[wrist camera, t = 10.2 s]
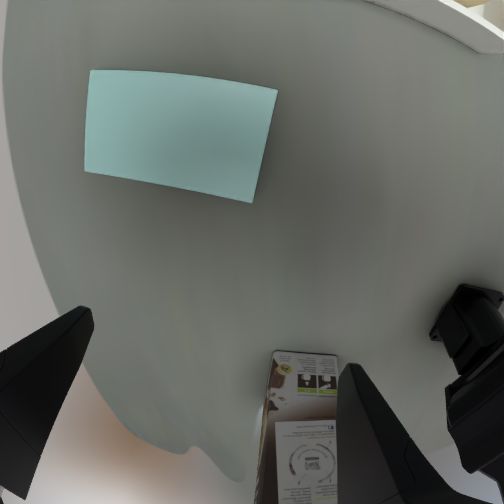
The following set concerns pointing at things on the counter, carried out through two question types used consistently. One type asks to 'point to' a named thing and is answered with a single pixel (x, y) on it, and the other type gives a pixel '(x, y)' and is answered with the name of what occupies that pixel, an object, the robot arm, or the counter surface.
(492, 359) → the robot arm
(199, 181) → the lid
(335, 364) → the coffee box
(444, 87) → the counter surface
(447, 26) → the tub
